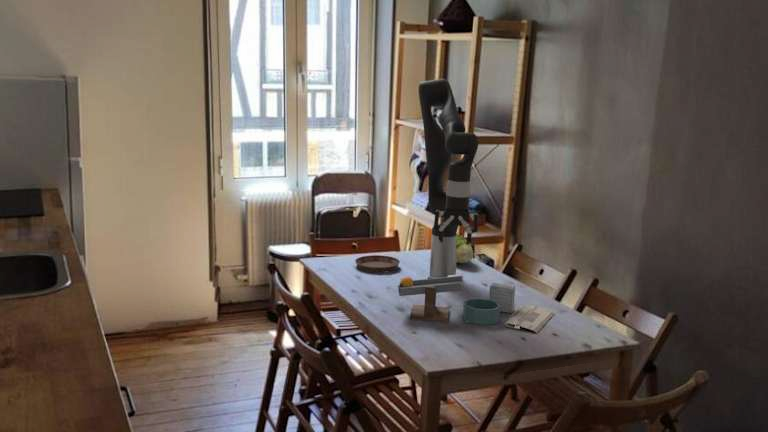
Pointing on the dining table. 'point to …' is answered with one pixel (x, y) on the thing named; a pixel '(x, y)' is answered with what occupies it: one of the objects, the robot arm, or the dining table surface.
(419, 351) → the dining table surface
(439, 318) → the lever stand
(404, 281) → the ball
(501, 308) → the medicine box
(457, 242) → the lettuce
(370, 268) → the plant saucer
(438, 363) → the dining table surface
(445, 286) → the lever
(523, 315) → the newspaper
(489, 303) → the teal faceted bowl
